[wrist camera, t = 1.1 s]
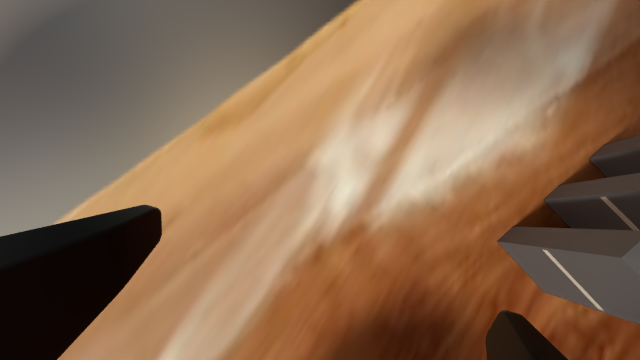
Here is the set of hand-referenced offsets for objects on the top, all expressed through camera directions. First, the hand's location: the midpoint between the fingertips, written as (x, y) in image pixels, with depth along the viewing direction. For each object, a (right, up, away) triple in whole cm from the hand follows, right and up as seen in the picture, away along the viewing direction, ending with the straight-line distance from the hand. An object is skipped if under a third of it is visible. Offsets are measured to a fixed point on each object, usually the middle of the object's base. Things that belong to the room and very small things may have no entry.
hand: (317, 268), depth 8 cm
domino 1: (+16, -4, +17) cm, 24 cm away
